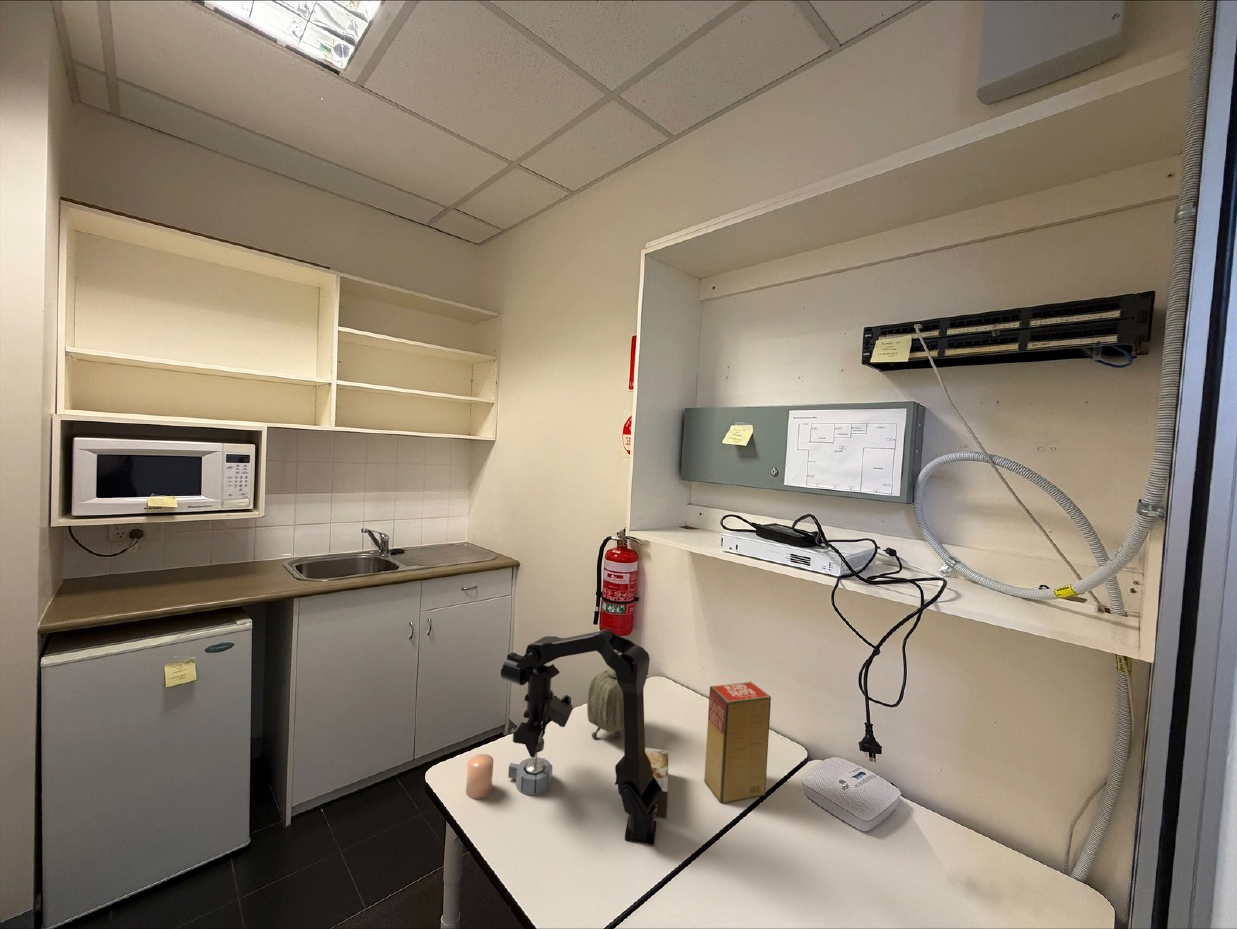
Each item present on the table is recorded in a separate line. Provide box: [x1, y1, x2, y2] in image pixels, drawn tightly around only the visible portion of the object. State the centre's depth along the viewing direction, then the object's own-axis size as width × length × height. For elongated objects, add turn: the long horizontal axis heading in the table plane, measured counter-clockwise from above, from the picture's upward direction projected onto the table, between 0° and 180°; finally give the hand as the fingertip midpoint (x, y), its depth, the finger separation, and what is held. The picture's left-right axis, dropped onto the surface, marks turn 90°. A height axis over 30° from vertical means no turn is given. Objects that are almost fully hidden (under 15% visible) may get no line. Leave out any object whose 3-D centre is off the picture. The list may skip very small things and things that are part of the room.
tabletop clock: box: [586, 651, 624, 739], centre depth 143 cm, size 14×9×25 cm, turn 139°
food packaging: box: [703, 681, 772, 804], centre depth 123 cm, size 13×9×25 cm
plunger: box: [526, 737, 545, 774], centre depth 120 cm, size 4×4×7 cm
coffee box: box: [645, 747, 670, 819], centre depth 119 cm, size 9×6×16 cm
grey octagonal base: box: [507, 756, 553, 796], centre depth 120 cm, size 9×11×4 cm
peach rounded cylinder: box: [465, 753, 494, 800], centre depth 116 cm, size 6×6×7 cm
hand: (535, 751), depth 120 cm, fingers closed on plunger, 4 cm apart
